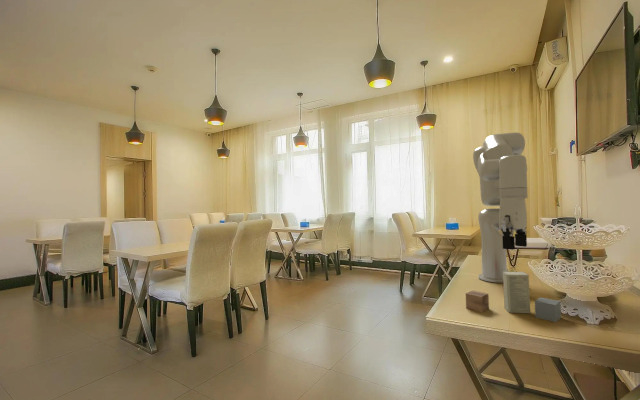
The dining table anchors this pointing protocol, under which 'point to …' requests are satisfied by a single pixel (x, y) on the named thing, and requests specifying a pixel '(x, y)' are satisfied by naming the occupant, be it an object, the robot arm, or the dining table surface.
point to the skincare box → (516, 292)
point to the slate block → (548, 309)
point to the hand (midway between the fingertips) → (515, 247)
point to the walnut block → (477, 301)
